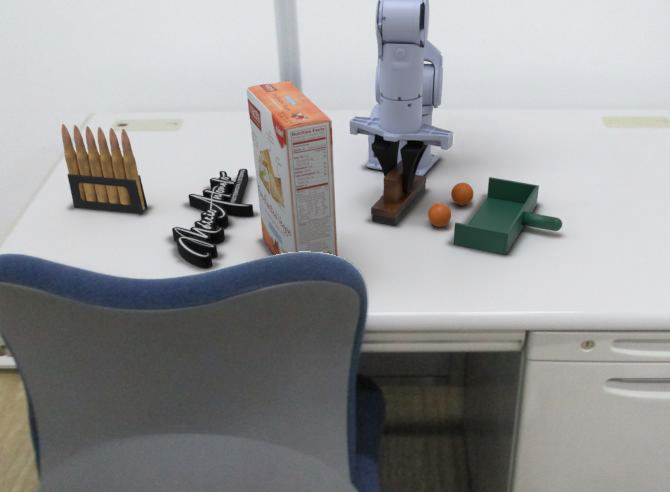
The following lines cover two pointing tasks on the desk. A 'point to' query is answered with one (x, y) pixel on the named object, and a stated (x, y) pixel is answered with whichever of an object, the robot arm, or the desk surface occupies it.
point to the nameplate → (212, 218)
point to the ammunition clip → (103, 173)
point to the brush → (396, 197)
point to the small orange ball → (439, 214)
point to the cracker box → (293, 169)
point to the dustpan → (503, 217)
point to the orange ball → (462, 193)
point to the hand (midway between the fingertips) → (399, 188)
